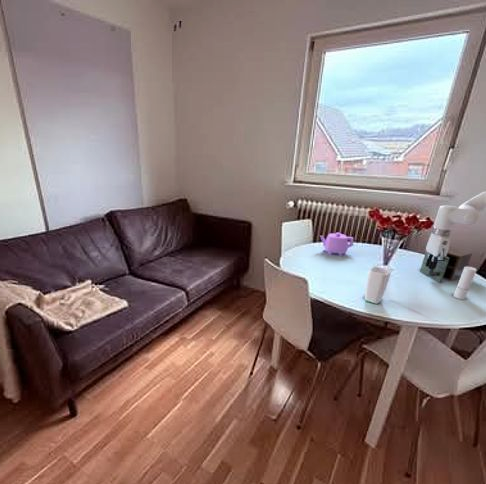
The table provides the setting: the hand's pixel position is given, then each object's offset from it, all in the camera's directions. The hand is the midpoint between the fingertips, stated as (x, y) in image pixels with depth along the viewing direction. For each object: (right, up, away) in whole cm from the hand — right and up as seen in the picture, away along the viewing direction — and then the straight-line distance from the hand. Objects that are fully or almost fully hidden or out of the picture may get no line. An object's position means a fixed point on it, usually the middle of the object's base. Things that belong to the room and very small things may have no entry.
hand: (430, 267), depth 155 cm
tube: (+4, -15, -13) cm, 20 cm away
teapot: (-32, +10, +41) cm, 53 cm away
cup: (-37, -16, -16) cm, 43 cm away
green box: (+3, -5, +8) cm, 10 cm away
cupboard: (+14, -4, +11) cm, 18 cm away
